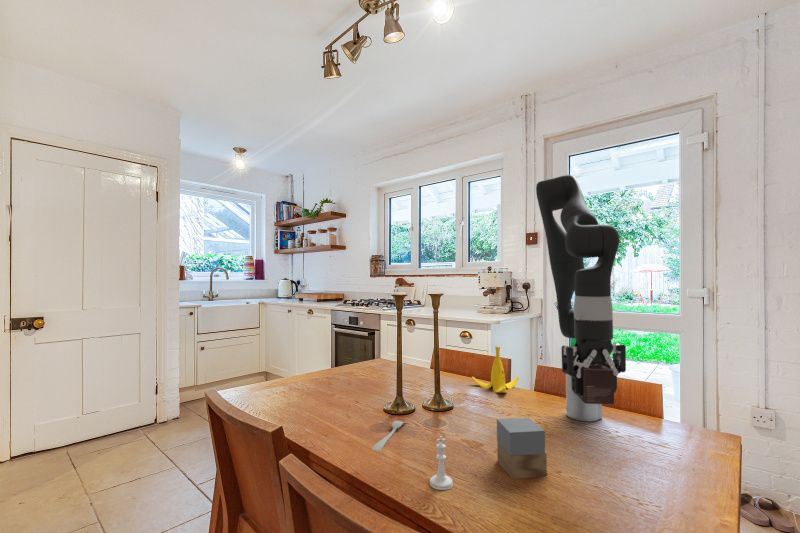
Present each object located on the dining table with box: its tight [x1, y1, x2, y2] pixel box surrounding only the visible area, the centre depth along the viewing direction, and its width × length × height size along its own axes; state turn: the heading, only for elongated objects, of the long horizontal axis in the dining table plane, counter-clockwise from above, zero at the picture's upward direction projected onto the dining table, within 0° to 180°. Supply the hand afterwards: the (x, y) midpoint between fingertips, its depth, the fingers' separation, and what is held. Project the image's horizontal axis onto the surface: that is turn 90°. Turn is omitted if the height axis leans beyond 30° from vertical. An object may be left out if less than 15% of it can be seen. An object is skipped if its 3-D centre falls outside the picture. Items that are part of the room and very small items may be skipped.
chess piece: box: [429, 435, 454, 491], centre depth 83 cm, size 5×5×10 cm
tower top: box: [496, 417, 546, 456], centre depth 89 cm, size 8×8×5 cm
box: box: [577, 364, 615, 406], centre depth 84 cm, size 6×6×7 cm
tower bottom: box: [496, 440, 548, 480], centre depth 89 cm, size 8×8×5 cm
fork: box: [371, 420, 408, 452], centre depth 108 cm, size 3×21×3 cm, turn 158°
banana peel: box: [471, 345, 520, 394], centre depth 153 cm, size 17×19×17 cm
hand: (594, 393), depth 84 cm, fingers closed on box, 7 cm apart
